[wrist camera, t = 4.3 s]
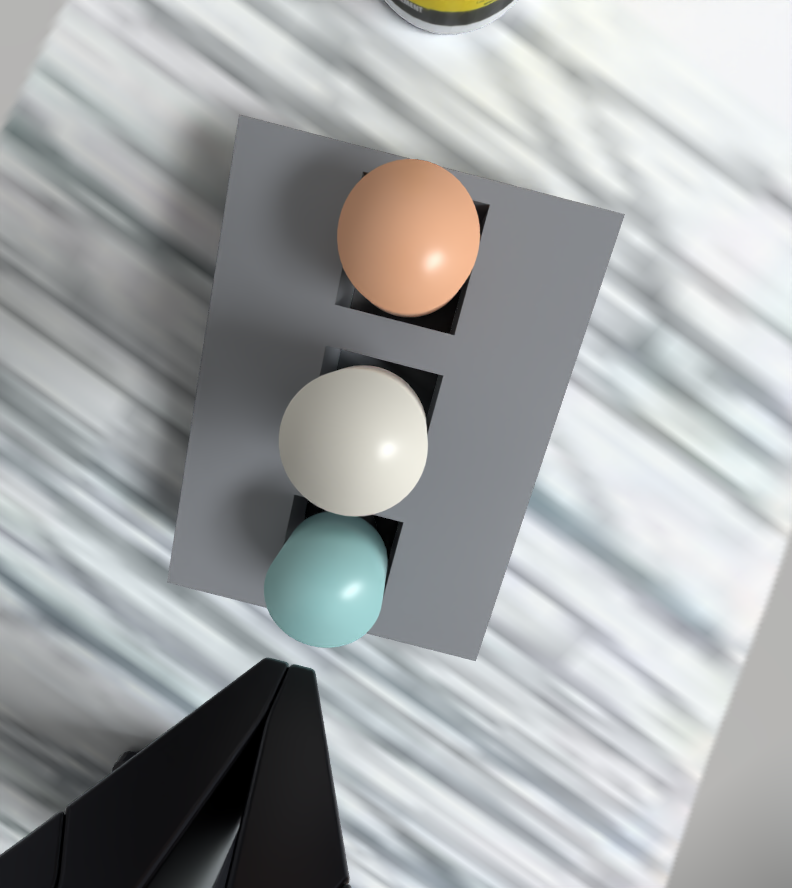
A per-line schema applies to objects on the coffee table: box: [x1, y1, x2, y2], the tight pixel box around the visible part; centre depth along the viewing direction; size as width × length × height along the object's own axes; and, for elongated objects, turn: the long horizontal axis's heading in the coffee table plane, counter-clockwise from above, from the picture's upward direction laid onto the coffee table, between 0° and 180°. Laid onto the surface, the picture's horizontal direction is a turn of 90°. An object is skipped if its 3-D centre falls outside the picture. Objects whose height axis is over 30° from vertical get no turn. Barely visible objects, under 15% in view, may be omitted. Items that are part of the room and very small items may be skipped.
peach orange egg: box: [337, 159, 480, 317], centre depth 11 cm, size 3×3×4 cm
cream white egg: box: [279, 365, 428, 516], centre depth 11 cm, size 3×3×4 cm
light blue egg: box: [264, 511, 388, 648], centre depth 13 cm, size 3×3×4 cm
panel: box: [167, 115, 625, 661], centre depth 13 cm, size 12×9×2 cm
